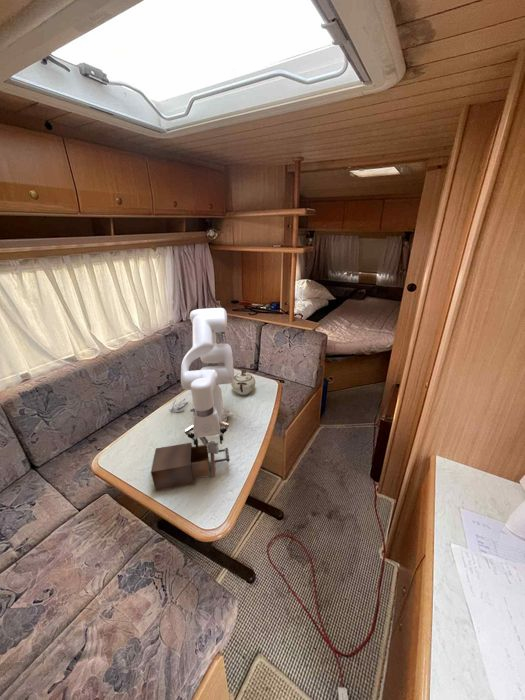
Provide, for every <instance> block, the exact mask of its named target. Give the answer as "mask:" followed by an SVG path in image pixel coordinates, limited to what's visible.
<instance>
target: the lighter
mask: <svg viewBox="0 0 525 700" xmlns="http://www.w3.org/2000/svg"><path fill="white" fill-rule="evenodd" d="M199 441H201V443H202V445H207V449H208V454H210V453H213V454H214V455H218V454H219V453H220V452H219V450H220V449H219V443H218V442H215V441H214V440H208V439H207V437H201V438H199Z"/></svg>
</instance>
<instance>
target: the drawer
mask: <svg viewBox="0 0 525 700" xmlns="http://www.w3.org/2000/svg"><path fill="white" fill-rule="evenodd" d="M222 452H224V454H225V458H221V459H216V457H215V454H213V453H208V447H207V445H204V444H200V445H199V444H198V448H196V445H192V447H191V469H192V475H193V479H194V480H195V479H200V478H205V477H210V466H211V475H212V478H216V477H217V474H216V463H220V462H229V461H230V453H229V448H228V447H225V448H223V449H219V452H218V453H222ZM209 455H210V457H209Z"/></svg>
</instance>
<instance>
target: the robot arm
mask: <svg viewBox="0 0 525 700" xmlns="http://www.w3.org/2000/svg"><path fill="white" fill-rule="evenodd" d="M189 319H190V322H191V324H192V347H191V348H189V350H188V351H187V352H186V354H184V357H183V359H182V361H181V365H180V385H181V387H182V389H184V390H185V391H186V390H187V391H190V392H191V398H192V404H193V406H192V407H191V408H190V409H189V410H190V413H191V412H192V425H190V426H188V427H187V428H186V429H184V434H185V435H186V436H187V438H189V439H191V440H192V442H193V446H196V448H198V446H199V440H198V438H199V439H200V438H201V437H206V438H207V437H213V436H219V437H218V438H219V444H220V445H222V444H223V441H224V435H225V433H226V432H227V431H228V429H229V427H230V424H229V422H227V420H228V417H232V416H233V415H234V413H233V412H232V411H231V410H225V408H224V401H223V392H222V389H221V386H220V385H228V384H230V385H231V383H232V382H233V381H234V377H235V369H234V368H235V366H234V358H233V357H234V354H233V350H232V346H231V345H230V344H229V343H226V342H225V343H217V334H216V333H224V332H225V331H226V330H227V328H228V313H227V310H226V309H225V308H224V307H211V308H210V307H209V308H196V309H193V310H192V311H190V313H189ZM199 358H200V361H201V362H202V363H203V364H221V363H222V364H221V365H208V366H203V367H201V368H200V369H195V370H194V369H193V370H190V367H191V365H192V363H193V362H194V361H196V360H197V359H199ZM221 427H222V428H221ZM192 431H193V432H192Z"/></svg>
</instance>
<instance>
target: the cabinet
mask: <svg viewBox="0 0 525 700" xmlns="http://www.w3.org/2000/svg"><path fill="white" fill-rule="evenodd" d="M191 447H193V444H192V442H186V443H181V444H174V445H167V446H162V447H161V446H160V447H157V448H155V449H154V455H153V459H152V465H151V469H150V475H151V477H152V482H153V485H154V489H155V492H157V491H163V490H167V489H174V488H179V487H184V486H189V485H194V484H195V479H193V475H192V469H191Z"/></svg>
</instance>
